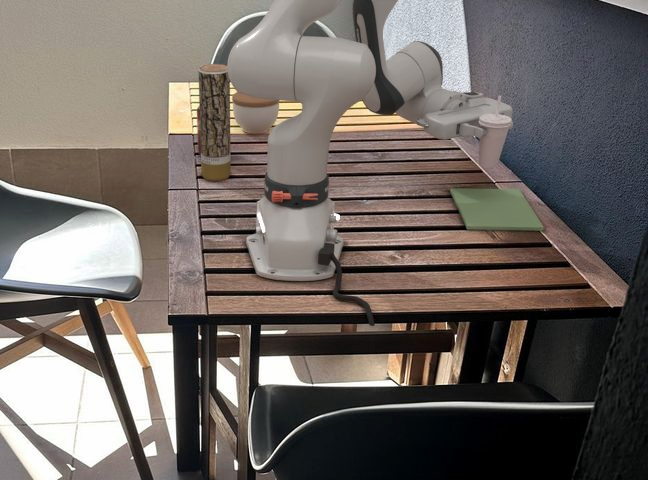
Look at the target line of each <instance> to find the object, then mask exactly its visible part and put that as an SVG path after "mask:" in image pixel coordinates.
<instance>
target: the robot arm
mask: <svg viewBox="0 0 648 480" xmlns="http://www.w3.org/2000/svg"><path fill="white" fill-rule="evenodd" d="M341 1H342V0H273V1H272V3H271V5H270V7H269V8H268V11H267V12H266V13H265V15H264V16H263V18H262V19H261V20H260V22H259V23H258V24H257V25H256V26H255V27H254V28H253V29H251V30H250V31H249V32H248V33H246V34H245V35H243V36H242V37H240V38H238V40H237V41H236V42H235V43H234V44H233V46H232V48H231V50H230V52H229V55H228V59H227V64H226V65H227V71H228V76H229V79H230V85H232V87H233V88H234V90H235V91H236V92H238V93H241V94H245V95H248V96H251V97H255V98H259V99H267V100H280V101H281V102H282V101H283V102H296V103H300V104H301V112H299V113H298V114H296V115H294V116H291V117H290V118H287V119H285V120H282V121H280V122H279V123H278V124H276V125H275V126H274V127H273V128H272V129H271V130H270V132H269V133H268V137H267V151H266V152H267V153H266V156H267V161H266V162H267V163H266V165H267V166H266V172H265V174H264V179H263V187H264V195H263V197H261V198H260V199H259V200H257V201H256V222H255V223H256V225H255V228H254V233H253V234H250V235H247V236H246V239H245V245H246V248H247V251H248V254H249V256H250V259H251V262H252V265H253V268H254V270H255V274H256V275H257V276H258V277H261V278H265V279H270V280H276V281H286V282H287V281H289V282H313V281H321V280H326V279H330V278H333V277H334V275H335V272H336V279H335V285H334V288H333V290H332V296H333V297H334V298H336V299H338V300H341V301H348V302H354V303H358V304H359V305H361V306H362V307H363V308H364V310H365V313H366V317H367V322H368V325H369V326H370V327H375V325H376V324H375V320H374V316H373V312H372V308H371V305H370V304H369V302H367V301H366V300H364V299H363V298H360V297H359V296H356V295H349V294H341V293H339V291H340V290H341V286H342V279H343V270H342V269H343V268H342V265H341V264H340V261H339V260H340V256H341V254H342V251H343V247H344V238H342V237H341V236H338V229H335V224H336V223H337V221H339V220H340V214H338V213H335V209H336V208H335V206H336V204H335V203H336V202H334V201H333V200H331V198H330V197H329V189H330V175H329V173H328V163H329V162H328V161H329V153H330V144H331V139H332V136H333V132H334V130H335V127H336V126H337V124H338V122H339V121H340V119H341V118H342V117H343V115H345V113H346V112H347V111H349V110H350V109H351V108H352V107H353V106H355V105H356V104H357V103H359V102H361V101H362V104H364V107H366V109H368V111H370V112H371V113H374V114H377V115H379V116H393V115H394V114H395V115H397V116H399V117H400V118H402V119H404V120H406V121H408V122H411V123H413V124H415V125H416V126H419V127H421V128H423V131H424V133H426V134H427V135H429V136H432V137H434V138H435V139H438V140H443V141H444V140H445V141H446V140H451V139H454V138H459V137H463V136H464V137H465V136H466V137H476V138H478V139H480V138H481V137H485V136H486V132H487V130H486V128H483V127H481V126H480V124H479V122H478V121H479V117H480V116H481V115H484V114H496V109H497V102H498V99H494V98H490V97H484V93H482V92H478V91H470V92H469V91H468V92H467V91H464V92H461V91H456V90H449V89H447V88H443V87H442V86H443V81H444V69H443V68H444V66H443V65H444V64H443V60H442V57H441V54H440V53H439V51H438V50H437V49H436V48H434V47H433V46H432V45H430V44H429V43H427V42H424V41H421V40H414V41H411V42H410V43H409V44H407V45H405V46H404V47H403V48H401V49H399V51H397V52H396V53H395V54H394V55H392V56H391V57H389V58H388V59H387V58H386V57H387V56H386V49H385V40H384V28H385V24H386V22H387V19H388V17H389V16H390V15H391V14H390V13H391V12H392V10H393V9H394V8H395V5H396V4H397V3H398V2H399V0H353V1H352V8H351V9H352V21H353V31H354V37H355V40H351V39H348V38H343V37H334V36H315V35H313V36H311V35H310V36H309V35H304V33H305V31H306V30H307V29H308V28H309V27H310V26H311V25H313V24H314V23H316V22H317V21H319V20H321V19H324V18H326V17H328V16H329V15H331V14H332V13H334V11H335V10H336V9H337V8H338V6H339V5H340V3H341ZM513 112H514V111H513V108H512V106H511V105H509V104H507V103H504V102H502V101H501V102H500V108H499V114H501V115H505V116H508V117H510V118H511V119H512V117H513ZM513 128H514V121H512V122H511V126H509V129H508V132H509V131H512V130H513Z"/></svg>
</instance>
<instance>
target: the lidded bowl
mask: <svg viewBox="0 0 648 480" xmlns="http://www.w3.org/2000/svg"><path fill="white" fill-rule="evenodd" d="M231 101H232V112H233V117H234V120H235V122H236V124H237V125H238V126H239V127H240V128H241V129H242V131H243V132H245V133H247V134H253V135H254V134H255V135H258V134H264V133H267V132H269V131H270V129H271V128H272V127H273V126H274V124H275V123H276V122H277V119H278V117H279V111H280V101H281V100H267V99H259V98H255V97H251V96H248V95H245V94H241V93H238V92H237V91H236V92H235V93H233V94H232V96H231Z"/></svg>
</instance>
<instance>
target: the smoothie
mask: <svg viewBox="0 0 648 480" xmlns="http://www.w3.org/2000/svg"><path fill="white" fill-rule="evenodd" d="M497 101H498V102H497V109H496V114H484V115H481V116H480V117H479V121H478V122H479V124H480V126H481V127H483V128H486V130H487V132H486V136H485V137H481V138H479V147H478V148H479V149H478V165H479V166H480V167H484V168H497V167H498V166H499V161H500V159H501V155H502V151H503V148H504V145H505V142H506V139H507V135H508V132H509V131H508V129H509V126H511V122H513V119H512V118H510V117H508V116H505V115H501V114H499V108H500V102H502V95H498V97H497Z"/></svg>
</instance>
